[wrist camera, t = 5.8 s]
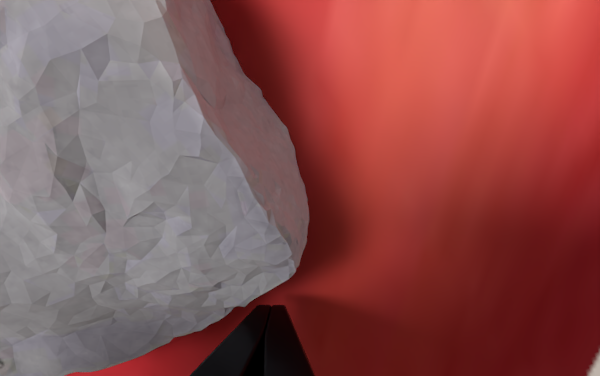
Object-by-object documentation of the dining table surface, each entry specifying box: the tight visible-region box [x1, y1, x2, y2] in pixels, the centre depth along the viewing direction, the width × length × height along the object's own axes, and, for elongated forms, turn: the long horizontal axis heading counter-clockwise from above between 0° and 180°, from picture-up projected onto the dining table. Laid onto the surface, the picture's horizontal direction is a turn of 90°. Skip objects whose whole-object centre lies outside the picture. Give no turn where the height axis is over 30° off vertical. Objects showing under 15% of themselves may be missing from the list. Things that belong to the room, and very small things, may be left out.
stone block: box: [0, 0, 309, 376], centre depth 8 cm, size 12×5×10 cm
